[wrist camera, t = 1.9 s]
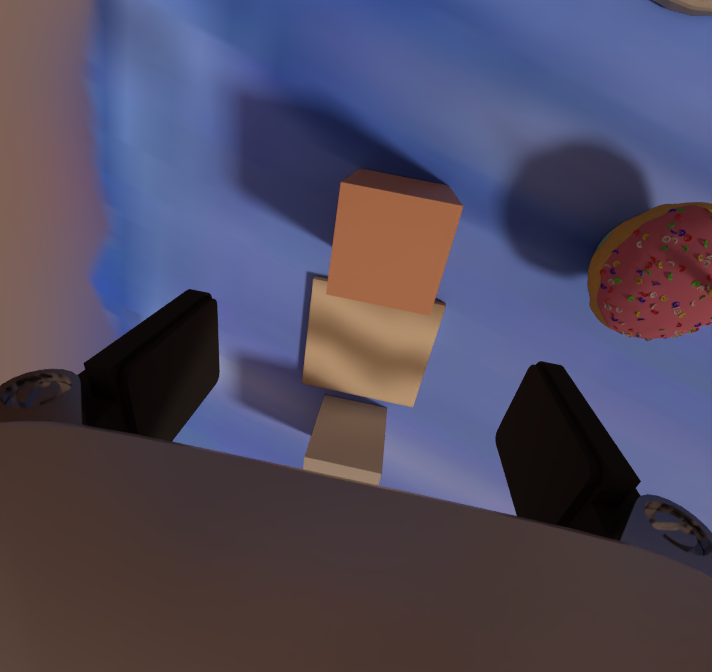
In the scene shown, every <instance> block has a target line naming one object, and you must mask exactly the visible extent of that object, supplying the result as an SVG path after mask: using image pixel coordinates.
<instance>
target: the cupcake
mask: <svg viewBox="0 0 712 672" xmlns="http://www.w3.org/2000/svg"><path fill="white" fill-rule="evenodd" d="M587 284H588V291H589V296H590V308H591V310H592V312H593V313H594V314H595V316H596V317H597V318H598V320H599V321H600V322H601V323H603V324H604V325H605V326H606V327H608V328H610V329H612V330H615V331H617V332H619V333H620V334H626V337H631V336H633V337H638V338H645V340H646V341H651V340H652V339H653V338H667V337H673V338H676V337H678V336H682V335H683V334H685V333H688V332H689V333H692V332H695V331H698V330H699V327H701V326H703V325H709V324H710V323H712V204H710V203H704V202H693V203H681V204H663V205H660V206H657V207H654V208H652V209H650V210H648V211H646V212H644V213H642V214H640V215H638V216H636V217H634V218H631V219H629V220H627V221H625V222H623V223H622V224H620V225H619V226H617V227H616V228H614V229H613V230H612V231H610V232H609V233H608V234H607V235H606V236H605V237H604V238H603V239H602V241H601V242H600V243H599V245H598V247H597V249H596V251H595V253H594V255H593V257H592V259H591V262H590V265H589V269H588V282H587ZM674 336H675V337H674ZM647 338H648V339H649V338H650V340H648V339H647Z"/></svg>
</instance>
